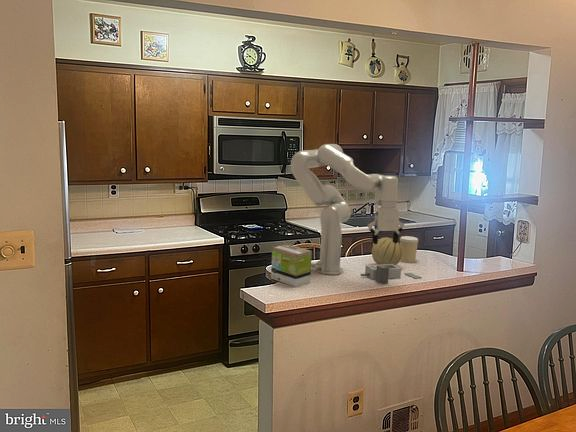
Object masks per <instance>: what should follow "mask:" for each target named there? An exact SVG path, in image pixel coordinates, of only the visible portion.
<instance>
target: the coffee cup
mask: <svg viewBox="0 0 576 432" xmlns="http://www.w3.org/2000/svg"><path fill="white" fill-rule="evenodd" d="M399 244H400V245H401V247H402V258H401V261H400V262H402V261H403V263H415V262H416V258H417V257H416V256H417V252H418V245H419V238H418V237H415V236H412V235H411V236H410V235H409V236H408V235H405V236H404V235H403V236H401V237H400V238H399Z"/></svg>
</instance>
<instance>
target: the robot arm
mask: <svg viewBox="0 0 576 432" xmlns="http://www.w3.org/2000/svg"><path fill="white" fill-rule="evenodd" d="M323 166H327V167H329V168H331V169H333V170H334V171H336V172H337V173H339V174H340V175H341V176H342V178H343V179H345V180H346V182H348V183H349V184H350V185H351V186H352V187H354V188H356V189H357V190H359V191H361V192H363V193H371V192H378V191H379V194H378V195H379V196H378V198H379V199H378V201H377V202H376V203H375V205H376V206H378V207H376V211H375V214H374V220H373V221H372V222H370V223H368V224H367V228H368V231H369V233H371V234H372V237H371V238H372V239H371V240H372V241H371V242H372V243H373V245H374V244H377V243H378V240H379V235H378V234H379V232H393V233H392V238H393V242H394V243H397V242H399V235H401V232H402V231H403V229H404V227H405V223H403V222H402V221H400V212H399V208H398V207H397V201H398V186H399V185H398V184H399V179H398V177H397V176H395V175H383V174H379V173H370V174H366V173H365V172H363V171H362V170H360V169H359V168H358V167H356V166H355V164H354V159H353V158H352V157H351V156H349V155H347V154H346V153H344V150H343V149H342V147H341V146H340V145H338V144H336V143H324V144H322V145H321V146H320V147H319V148H317V149H316V148H315V149H308V150H307V149H305V150H299V151H297V152H295V153H294V154H293V155H292V158H291V161H290V170H291V174H292V175H293V176H294V178H295V180H296V181H297V183H298V184H299V185H300V187H301V188H302V190H303V191H304V193H305V194H306V196H307V197H308V198H309V200H310V201H311V202H312V204H313V205H315V206H316V207H323V206H324V207H323V208H322V210H321V211H320V217H319V219H320V226H321V228H320V229H321V230H320V234H321V235H320V254H319V260H317V262H315V263H314V262H311V268H314V269H315V271H316V272H317V273H319V274H323V275H329V276H330V275H333V276H334V275H340V274H343V273H344V269H343V268H342V267H341V255H342V254H341V252H342V238H343V237H342V236H343V232H342V227H341V224H342V223H345V222H347V221H348V220H350V218H351V214H352V212H351V208H350V206H349V205H348V203H347V201H346V200H345V199H344V197H343V196H342V195H341V193H340V192H339V191H338V189H337V188H336V187H335V186H334V185H332V184H323V183H322V182H321V181H320V179H319V178H318V177H317V175H316V174H315V173H314V172H313V171H311V170H310V169H313V168H319V167H323ZM373 228H374V229H373Z"/></svg>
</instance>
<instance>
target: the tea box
mask: <svg viewBox="0 0 576 432" xmlns="http://www.w3.org/2000/svg"><path fill="white" fill-rule="evenodd" d="M271 249H272V250H271V268H270V269H271V272H270V273H271V274H270V279H271V280H274V281H277V282H280V283H284V284H286V285H289V286H291V287H294V288H297V287H301V286H303V285H307V284H310V283H311V271H312V267H311V263H312V257H313V256H312V255H313V252H312V250H311V249H310V250H309V249H306V248H303V247H299V246H295V245H291V244H283V245H278V246H274V247H271Z"/></svg>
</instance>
